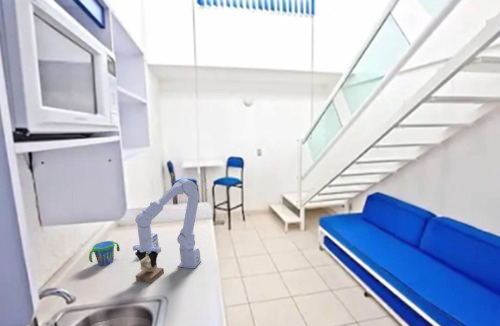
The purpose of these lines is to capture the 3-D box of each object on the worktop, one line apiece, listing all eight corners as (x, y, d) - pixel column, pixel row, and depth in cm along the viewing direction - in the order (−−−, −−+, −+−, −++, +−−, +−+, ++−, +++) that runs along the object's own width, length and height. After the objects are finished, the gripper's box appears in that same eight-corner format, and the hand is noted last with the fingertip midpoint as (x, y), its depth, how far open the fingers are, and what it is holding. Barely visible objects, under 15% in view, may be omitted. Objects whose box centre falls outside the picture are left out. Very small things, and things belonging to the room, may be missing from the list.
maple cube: (156, 266, 139) (155, 256, 138) (150, 271, 134) (149, 261, 133) (148, 265, 140) (147, 255, 139) (141, 270, 135) (140, 260, 135)
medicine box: (152, 253, 163) (150, 239, 161) (144, 253, 164) (143, 238, 162) (159, 247, 170) (157, 233, 169) (152, 247, 171) (150, 233, 170)
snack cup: (116, 254, 164) (114, 237, 163) (124, 259, 157) (122, 241, 156) (87, 265, 153) (84, 247, 152) (94, 271, 146) (91, 252, 145)
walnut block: (164, 273, 140) (163, 268, 140) (152, 284, 132) (151, 278, 132) (148, 271, 143) (148, 266, 143) (136, 281, 135) (135, 275, 135)
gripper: (126, 240, 133) (130, 267, 135) (153, 243, 129) (156, 271, 131) (137, 234, 140) (140, 260, 142) (162, 236, 135) (165, 263, 137)
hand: (148, 265), depth 137 cm, fingers closed on maple cube, 5 cm apart
